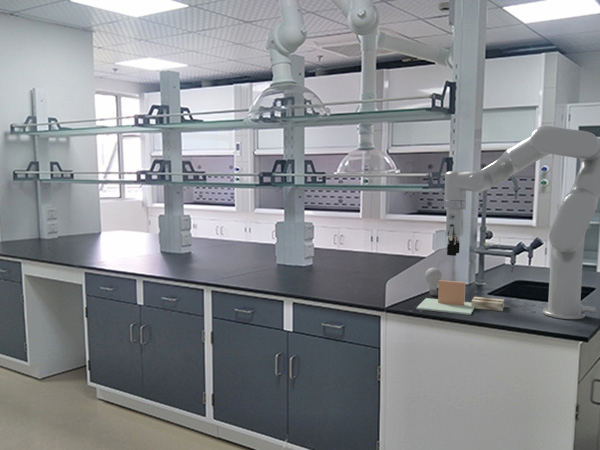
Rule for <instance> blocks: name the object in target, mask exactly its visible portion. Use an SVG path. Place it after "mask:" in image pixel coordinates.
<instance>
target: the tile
mask: <svg viewBox="0 0 600 450" xmlns="http://www.w3.org/2000/svg"><path fill="white" fill-rule="evenodd" d="M437 289H438V291H437V292H438V293H437V299H438V303H444V304H454V305H463V306H464V305H465V302H466V300H465V299H466V281H457V280H456V281H453V280H442V279H441V280H439V283H438V286H437Z"/></svg>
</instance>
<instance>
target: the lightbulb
mask: <svg viewBox="0 0 600 450" xmlns="http://www.w3.org/2000/svg"><path fill="white" fill-rule="evenodd" d="M442 275H443V274H442V271H441V270H440V269H439V268H437V267H428V269H427V270H426V271H425V275H424V276H425V279H426V281H427V283H428V290H429V294H430V295H431V296H432V297H433V296H434V297H435V295H437V292H438V291H437V289H438V286H439V280H442Z"/></svg>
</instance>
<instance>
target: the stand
mask: <svg viewBox="0 0 600 450" xmlns="http://www.w3.org/2000/svg"><path fill="white" fill-rule="evenodd" d="M470 303H471V306H474V307H475V308H474V309H478V310H486V311H487V310H488V311H496V312H497V311H498V312H503V311H504V307H505V299H504V298H503V299H502V298H492V297H491V298H490V297H481V296H473V297H472V299H471V302H470Z"/></svg>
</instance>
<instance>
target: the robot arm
mask: <svg viewBox="0 0 600 450" xmlns="http://www.w3.org/2000/svg"><path fill="white" fill-rule="evenodd" d="M502 153H503V154H502V155H501V156H500V157H498V159H496V160H495V161H494V162H492V163H490V164H489V165H486V166H484V168H482V169H479V170H471V171H468V170H467V171H464V170H463V171H462V170H450V171H447V172H446V173H445V176H444V199H443V200H444V203H443V209H444V210H446V219H445V220H446V222H445V223H446V224H445V235H446V237H447V245H446V247H447V248H446V255H447V256H452V257H455V256H457V254H460V245H461V243H460V237H462V236H463V235H464V210H466V206H467V205H466V204H467V200H466V199H467V192H473V193H479V192H486V191H487V190H489V189H491V188H493V187H494V186H497V185H498V184H500V183H502V182H504V181H505V180H506V179H508V178H510V177H511V176H513V175H515V174H517V173H519V172H521V171H522V170H524V169H525V168H527V167H529V166H530V165H532V164H534V163H536V162H538V161H540V160H542V159H543V158H545V157H546V156H549V155H555V156H561V157H567V158H568V157H569V158H574V159H579V161H580V165H579V166H580V167H579V170H578V171H577V174H576V177H575V179H574V182H573V184H572V187H571V189H570V190H569V193H568V192H567V194H566V195H565V196H564V198H563V200H562V201H561V205H560V206H559V209H558V211H557V213H556V216H555V218H554V221H553V223H552V226H551V229H550V231H549V233H548V234H549V235H548V239H549V240H548V241H549V243H550V244H551V251H550V266H549V279H548V280H549V281H548V283H549V284H548V299H547V300H548V301H547V302H548V303H547V307H544V308H543V309H542V313H543V314H544V315H546V316H548V317H551V318H557V319H564V320H583V319H584V318H585V317H586V313H589V314H590V313H591V314H597V307H595V306H594V307H593V306H590V305H583V304H582V301H581V295H582V282H583V281H582V277H583V263H584V262H583V261H584V249H585V248H584V247H585V239H586V238H585V235H586V233H587V231H588V228H589V226H590V224H591V222H592V220H593V217H594V215H595V212H596V210H597V208H598V203H599V200H600V138H598V137H597V136H596V135H595V134H594V133H592V132H590V131H586V130H578V129H572V128H563V127H558V126H556V127H555V126H551V125H542V126H538V127H537V128H535V130H534V131H533V132H532V133H531V135H529V136H527V137H526V138H525V139H523V140H521V141H519V142H517V143H515V144H514V145H512V146H511V147H509V148H507V149H506V150H505V151H504V152H502Z"/></svg>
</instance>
